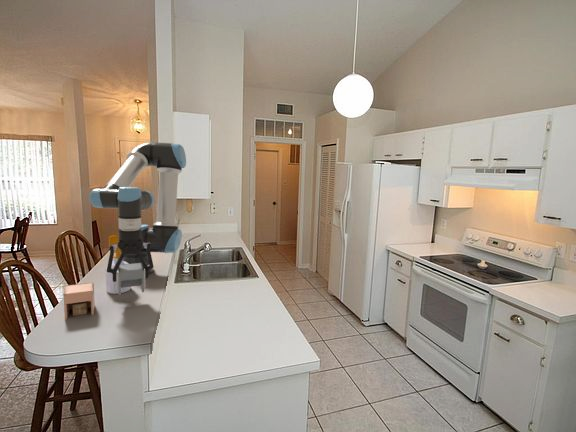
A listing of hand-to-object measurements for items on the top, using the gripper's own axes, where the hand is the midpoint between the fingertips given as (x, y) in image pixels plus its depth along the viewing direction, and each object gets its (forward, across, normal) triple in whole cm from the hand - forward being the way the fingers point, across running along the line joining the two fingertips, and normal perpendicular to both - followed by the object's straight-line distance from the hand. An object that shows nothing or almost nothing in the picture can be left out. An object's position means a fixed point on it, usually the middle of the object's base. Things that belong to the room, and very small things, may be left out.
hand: (131, 287), depth 116 cm
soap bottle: (+7, -4, +17) cm, 18 cm away
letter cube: (+7, -16, 0) cm, 18 cm away
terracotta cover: (+7, -16, 0) cm, 18 cm away
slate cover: (+1, 0, 0) cm, 1 cm away
